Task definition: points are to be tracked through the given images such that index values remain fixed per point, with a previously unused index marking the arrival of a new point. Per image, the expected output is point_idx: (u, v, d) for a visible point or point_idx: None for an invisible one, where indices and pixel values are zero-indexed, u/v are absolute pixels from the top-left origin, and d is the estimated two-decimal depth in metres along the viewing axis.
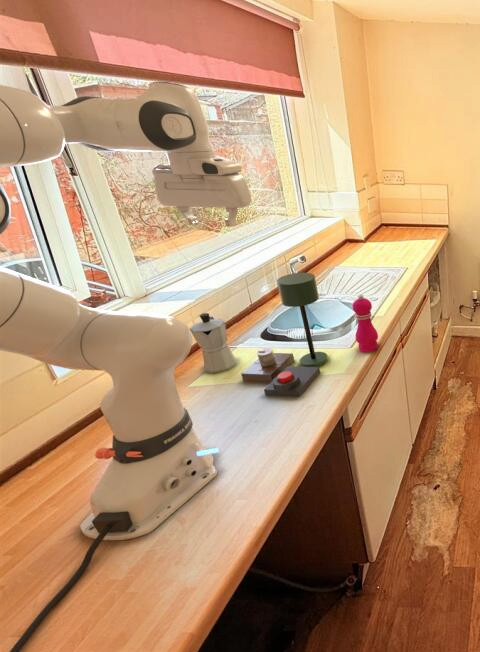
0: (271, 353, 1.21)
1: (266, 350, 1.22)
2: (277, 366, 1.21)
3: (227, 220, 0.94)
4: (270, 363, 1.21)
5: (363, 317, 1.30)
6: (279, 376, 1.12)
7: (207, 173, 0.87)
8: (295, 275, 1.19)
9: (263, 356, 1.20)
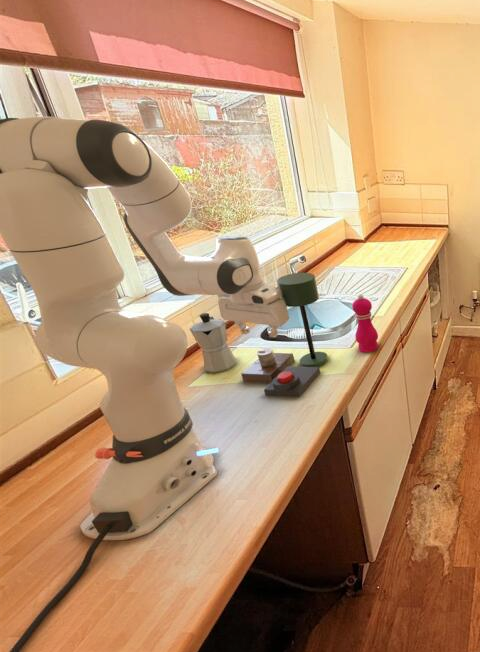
0: (271, 353, 1.21)
1: (266, 350, 1.22)
2: (277, 366, 1.21)
3: (270, 333, 1.16)
4: (270, 363, 1.21)
5: (363, 317, 1.30)
6: (279, 376, 1.12)
7: (255, 303, 1.09)
8: (295, 275, 1.19)
9: (263, 356, 1.20)
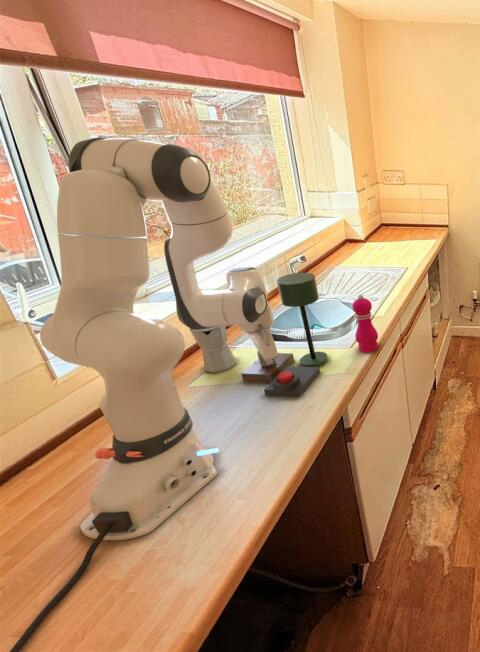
0: None
1: None
2: (277, 366, 1.21)
3: None
4: None
5: (363, 317, 1.30)
6: (279, 376, 1.12)
7: None
8: (295, 275, 1.19)
9: None
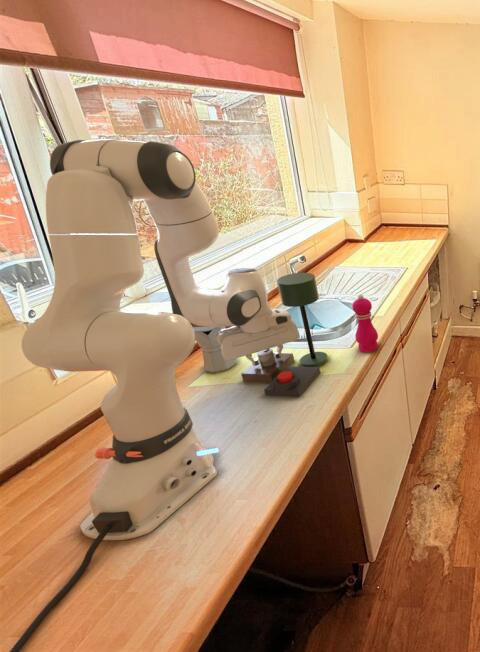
0: (261, 356, 1.19)
1: (267, 351, 1.21)
2: (277, 366, 1.21)
3: (278, 354, 1.23)
4: (260, 364, 1.21)
5: (363, 317, 1.30)
6: (279, 376, 1.12)
7: (279, 323, 1.18)
8: (295, 275, 1.19)
9: None
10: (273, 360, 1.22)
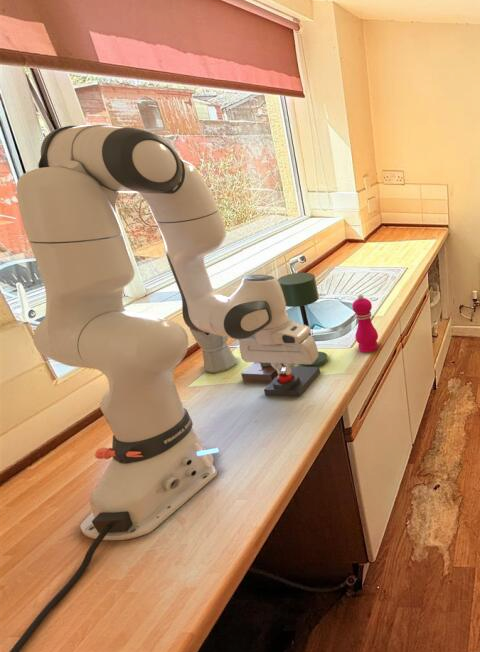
0: None
1: None
2: None
3: (284, 371, 1.12)
4: (260, 364, 1.21)
5: (363, 317, 1.30)
6: (279, 376, 1.12)
7: (286, 342, 1.05)
8: (295, 275, 1.19)
9: None
10: None
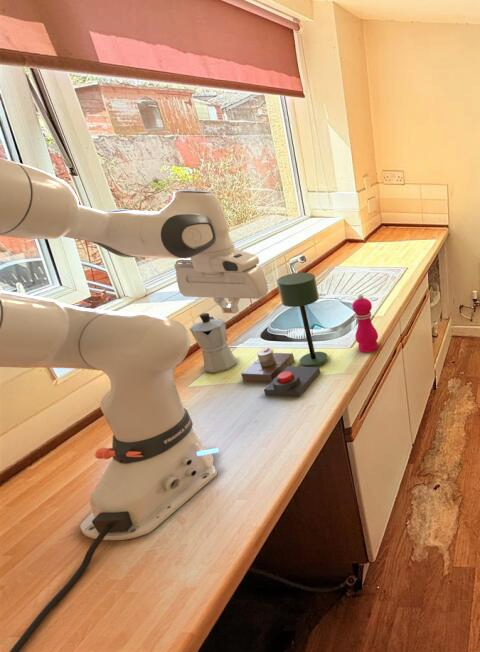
0: (261, 356, 1.19)
1: (267, 351, 1.21)
2: (277, 366, 1.21)
3: (230, 308, 0.98)
4: (260, 364, 1.21)
5: (363, 317, 1.30)
6: (279, 376, 1.12)
7: (227, 270, 0.92)
8: (295, 275, 1.19)
9: None
10: (273, 360, 1.22)
